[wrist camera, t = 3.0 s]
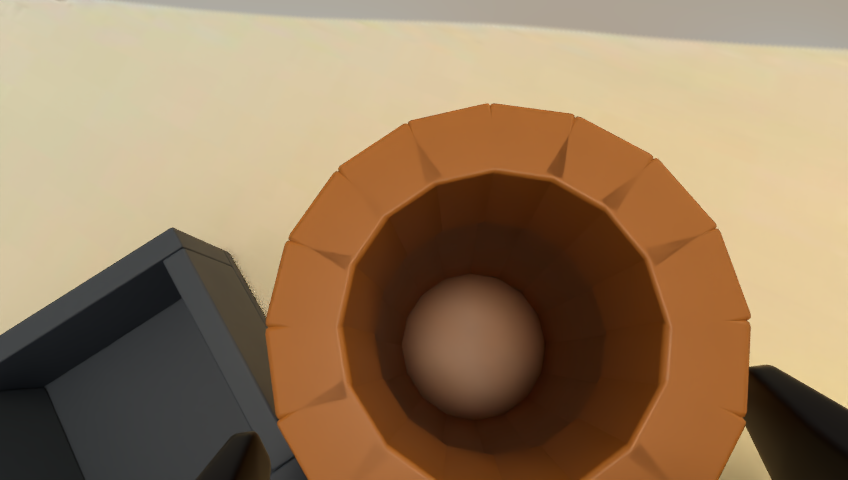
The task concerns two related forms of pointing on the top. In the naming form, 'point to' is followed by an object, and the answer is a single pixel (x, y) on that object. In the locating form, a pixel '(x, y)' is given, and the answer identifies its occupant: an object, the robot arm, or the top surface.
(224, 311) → the dark grey divided tray
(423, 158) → the amber jar
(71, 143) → the top surface
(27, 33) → the top surface
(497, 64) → the top surface
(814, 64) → the top surface
